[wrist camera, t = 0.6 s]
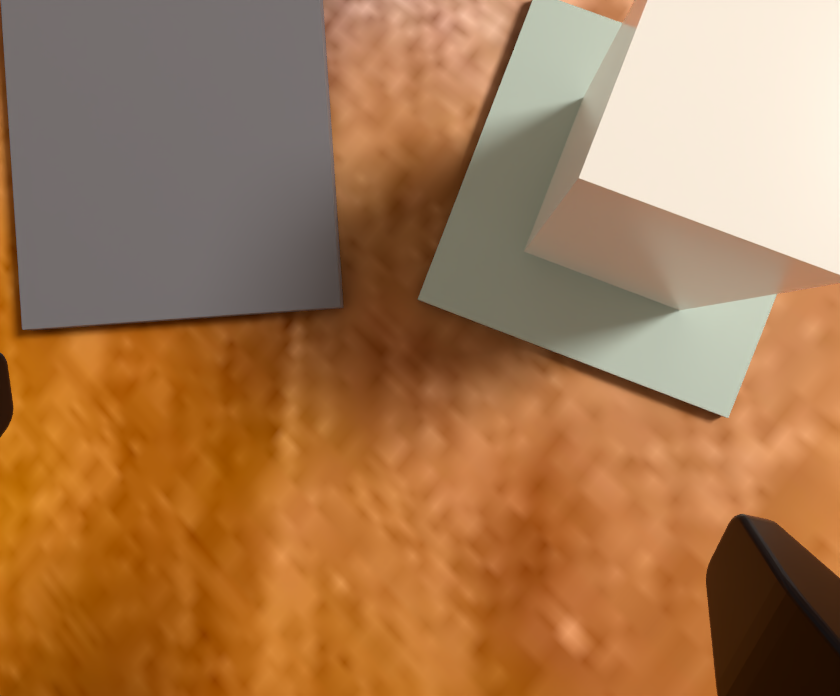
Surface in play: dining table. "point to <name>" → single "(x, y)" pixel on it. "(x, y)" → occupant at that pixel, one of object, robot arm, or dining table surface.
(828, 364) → the dining table surface
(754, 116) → the block
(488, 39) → the dining table surface
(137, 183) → the mat
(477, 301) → the coaster
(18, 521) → the dining table surface
